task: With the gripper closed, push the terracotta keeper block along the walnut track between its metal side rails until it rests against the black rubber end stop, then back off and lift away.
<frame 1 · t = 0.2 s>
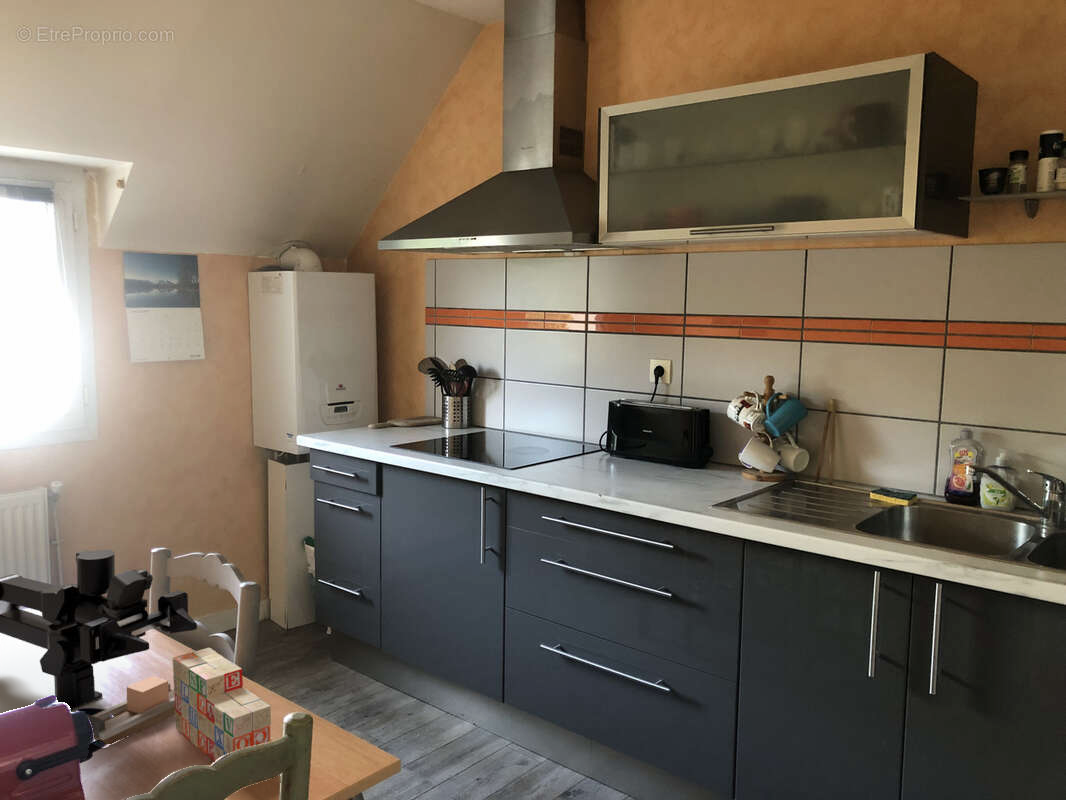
hand: (172, 636, 136), 17 cm above the table, tool horizontal, fingers open, 9 cm apart
stack of blocks: (221, 746, 135), on the table
keeper block: (147, 695, 144), point 4 cm above the table, slide at 0.0 cm
track: (135, 721, 142), on the table
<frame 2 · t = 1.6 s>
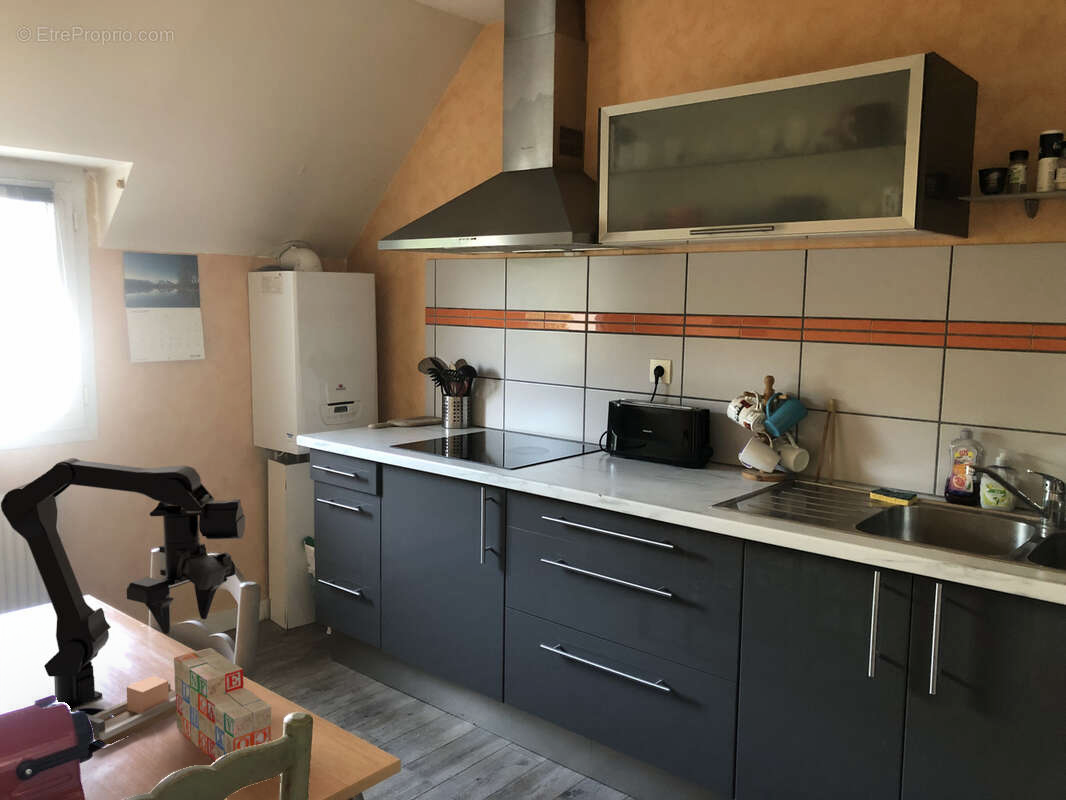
hand: (185, 626, 150), 13 cm above the table, tool pointing down, fingers open, 8 cm apart
nothing on the table moved.
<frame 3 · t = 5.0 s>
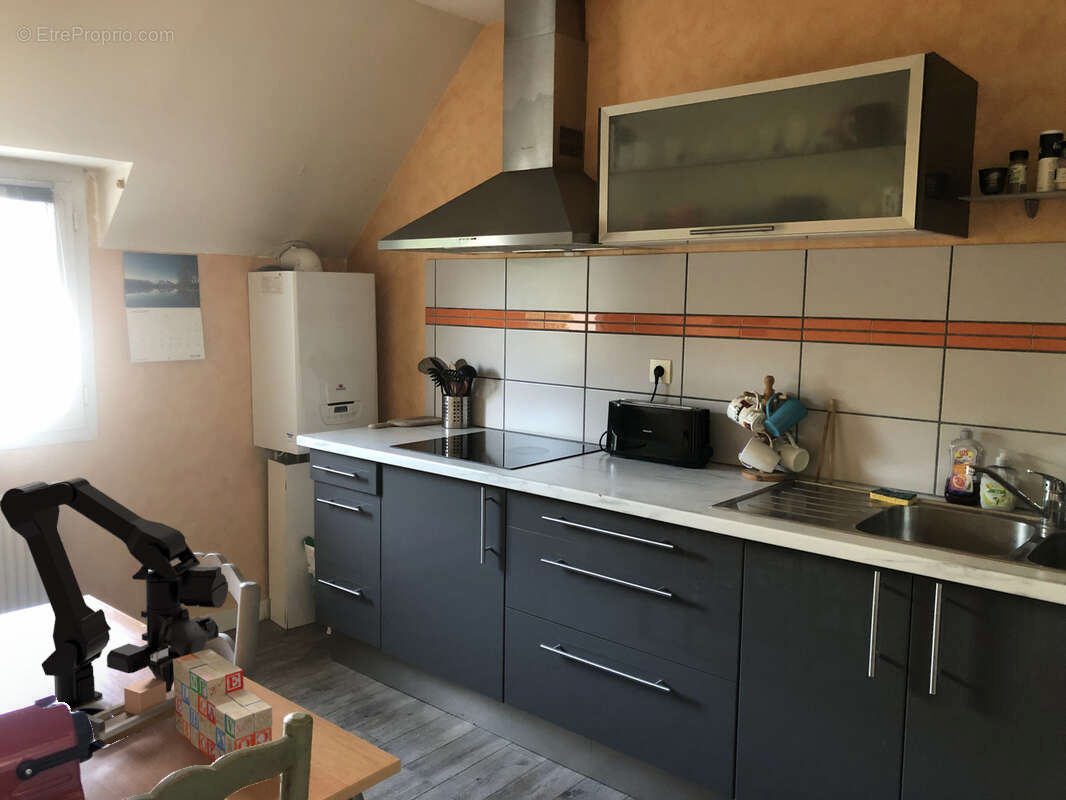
hand: (166, 691, 147), 3 cm above the table, tool pointing down, fingers closed
keeper block: (145, 696, 143), point 4 cm above the table, slide at 0.5 cm, touching gripper
everything else where it was.
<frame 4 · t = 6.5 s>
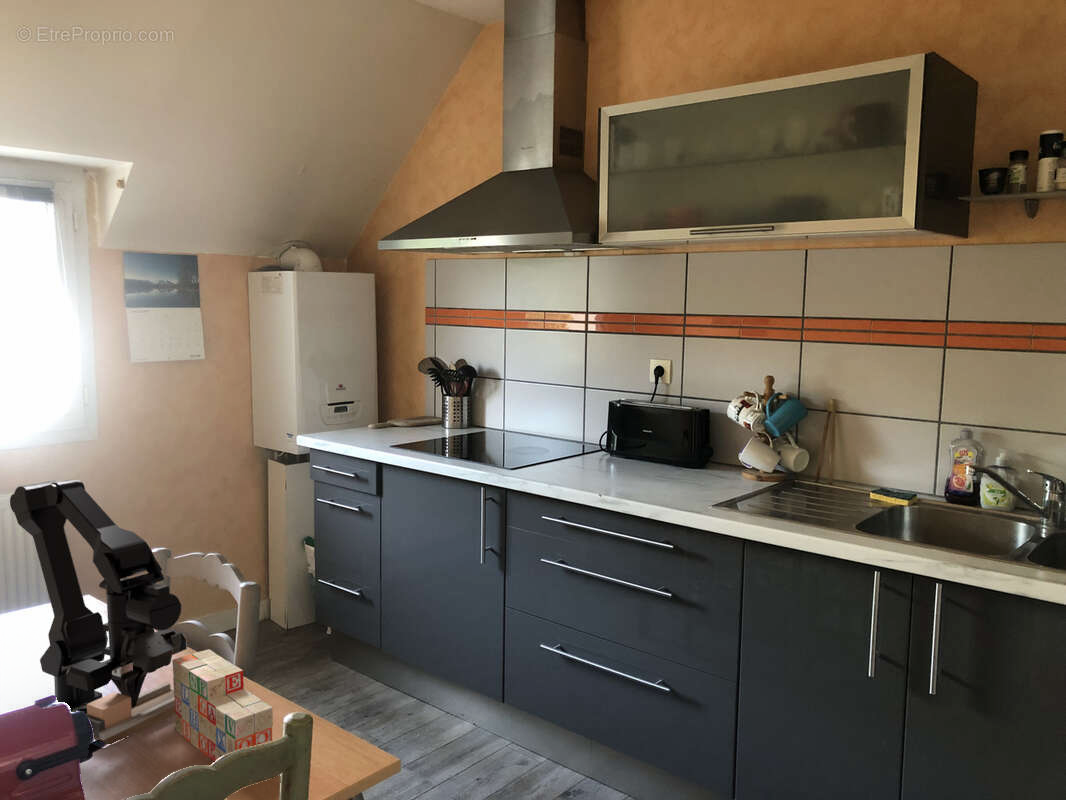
hand: (132, 706, 141), 3 cm above the table, tool pointing down, fingers closed
keeper block: (109, 712, 137), point 4 cm above the table, slide at 7.2 cm, touching gripper
everything else where it was.
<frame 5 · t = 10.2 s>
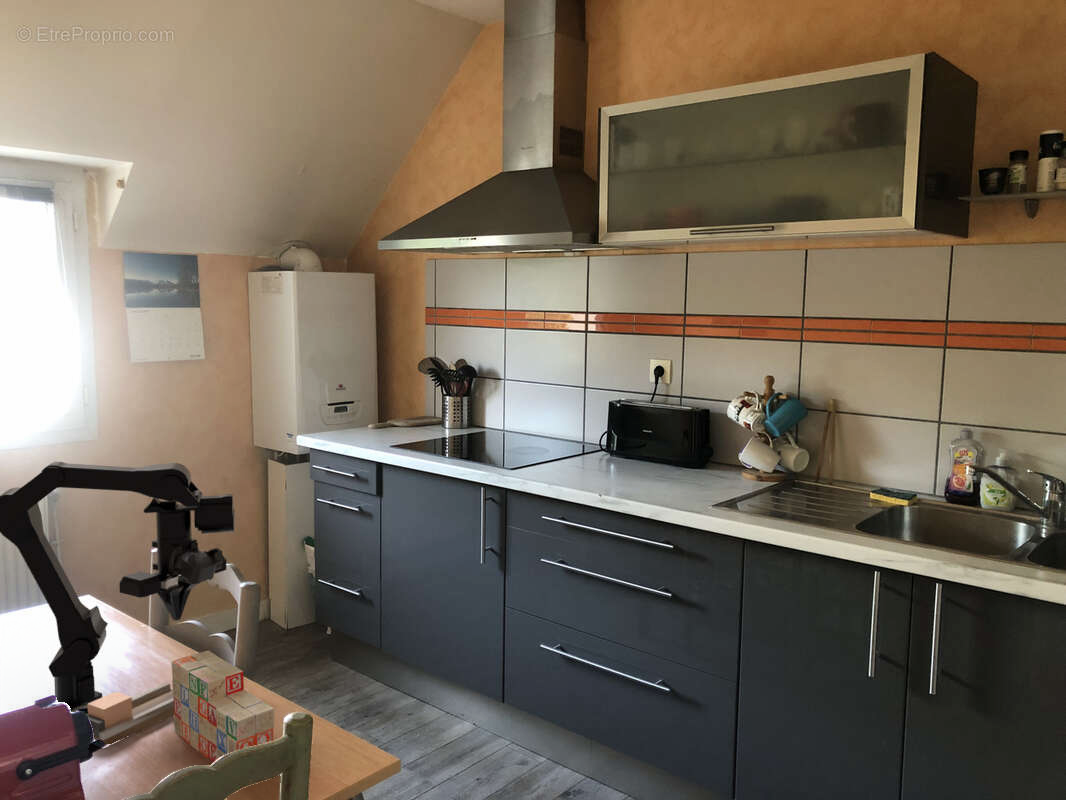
hand: (176, 619, 153), 13 cm above the table, tool pointing down, fingers closed
keeper block: (110, 712, 138), point 4 cm above the table, slide at 7.0 cm
at the end: keeper block slide at 7.0 cm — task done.
